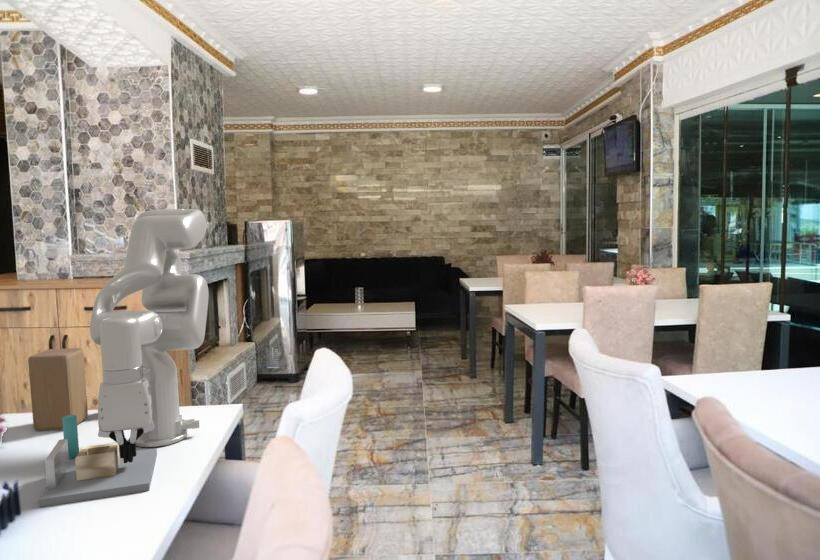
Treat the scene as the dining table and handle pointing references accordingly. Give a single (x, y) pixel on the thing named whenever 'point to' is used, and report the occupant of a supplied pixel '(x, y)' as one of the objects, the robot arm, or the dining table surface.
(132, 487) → the base board
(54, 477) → the backstop wall
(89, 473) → the birch block
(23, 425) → the dining table surface
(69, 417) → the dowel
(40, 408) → the wooden block
